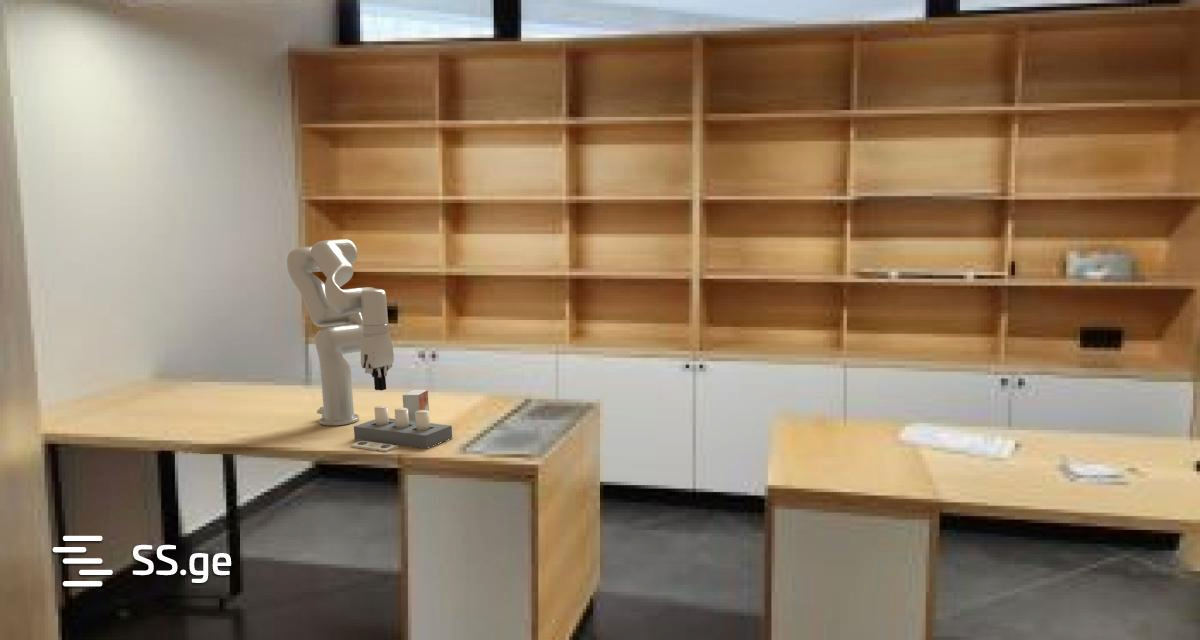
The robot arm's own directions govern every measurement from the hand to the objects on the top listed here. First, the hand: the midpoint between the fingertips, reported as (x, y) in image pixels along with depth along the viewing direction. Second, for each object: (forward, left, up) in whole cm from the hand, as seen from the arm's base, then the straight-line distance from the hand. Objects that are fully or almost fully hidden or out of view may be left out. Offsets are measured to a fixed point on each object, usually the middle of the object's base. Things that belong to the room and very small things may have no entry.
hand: (380, 389), depth 282 cm
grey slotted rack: (+8, 0, -15) cm, 17 cm away
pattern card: (+6, -10, -15) cm, 19 cm away
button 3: (+16, 0, -12) cm, 20 cm away
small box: (0, +16, -15) cm, 22 cm away
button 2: (+8, 0, -12) cm, 14 cm away
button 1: (0, 0, -12) cm, 12 cm away
